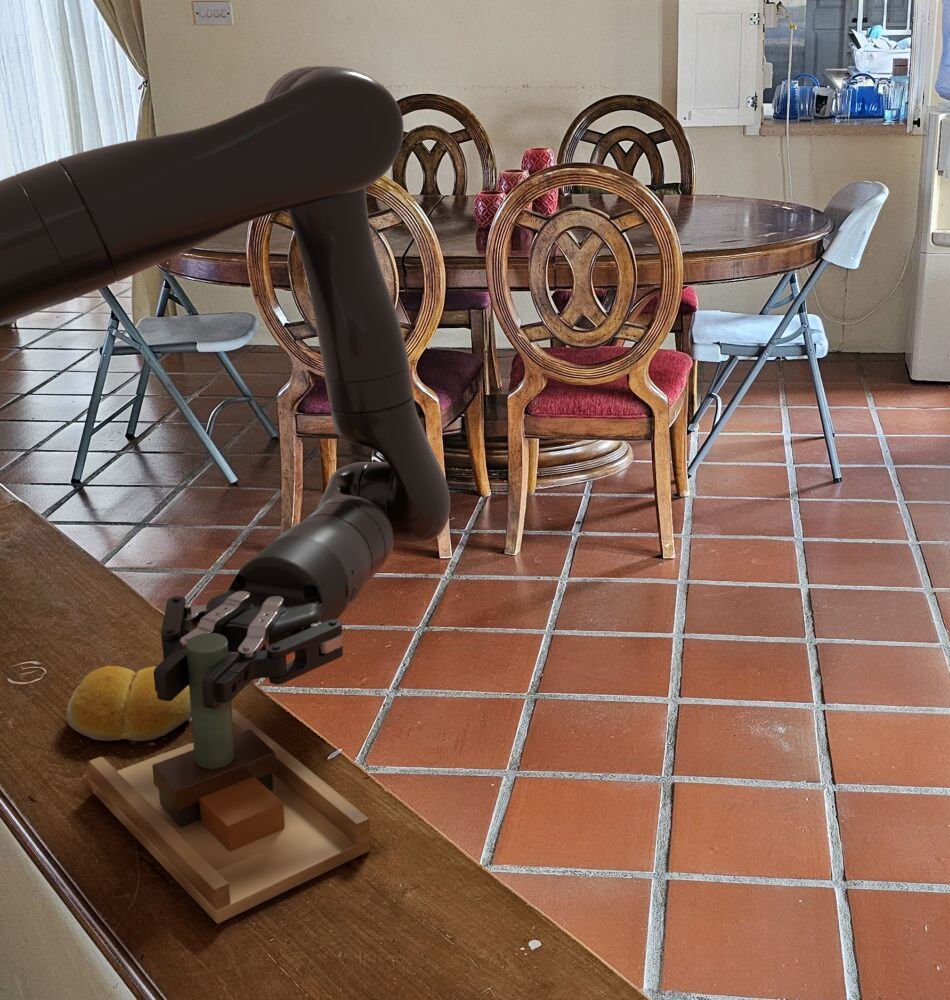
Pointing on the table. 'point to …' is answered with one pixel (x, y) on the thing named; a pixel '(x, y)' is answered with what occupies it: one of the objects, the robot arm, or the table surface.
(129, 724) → the bread roll
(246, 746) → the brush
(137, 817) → the tray
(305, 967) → the table surface
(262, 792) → the brown block
